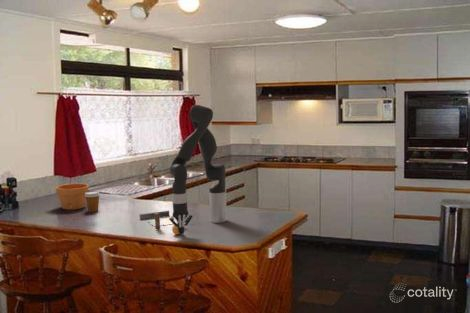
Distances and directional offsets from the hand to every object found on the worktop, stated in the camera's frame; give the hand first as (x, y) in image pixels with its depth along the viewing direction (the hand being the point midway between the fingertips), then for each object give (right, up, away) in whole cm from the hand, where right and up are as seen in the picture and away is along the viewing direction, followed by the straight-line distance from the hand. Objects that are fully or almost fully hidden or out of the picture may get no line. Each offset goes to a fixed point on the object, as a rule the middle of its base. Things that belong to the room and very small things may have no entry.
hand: (181, 233), depth 281 cm
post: (-15, 0, +15) cm, 21 cm away
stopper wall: (-21, +4, +44) cm, 49 cm away
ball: (-2, +2, +3) cm, 4 cm away
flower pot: (-81, +6, +82) cm, 115 cm away
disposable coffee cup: (-65, +5, +69) cm, 95 cm away
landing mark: (-15, +2, +31) cm, 34 cm away
